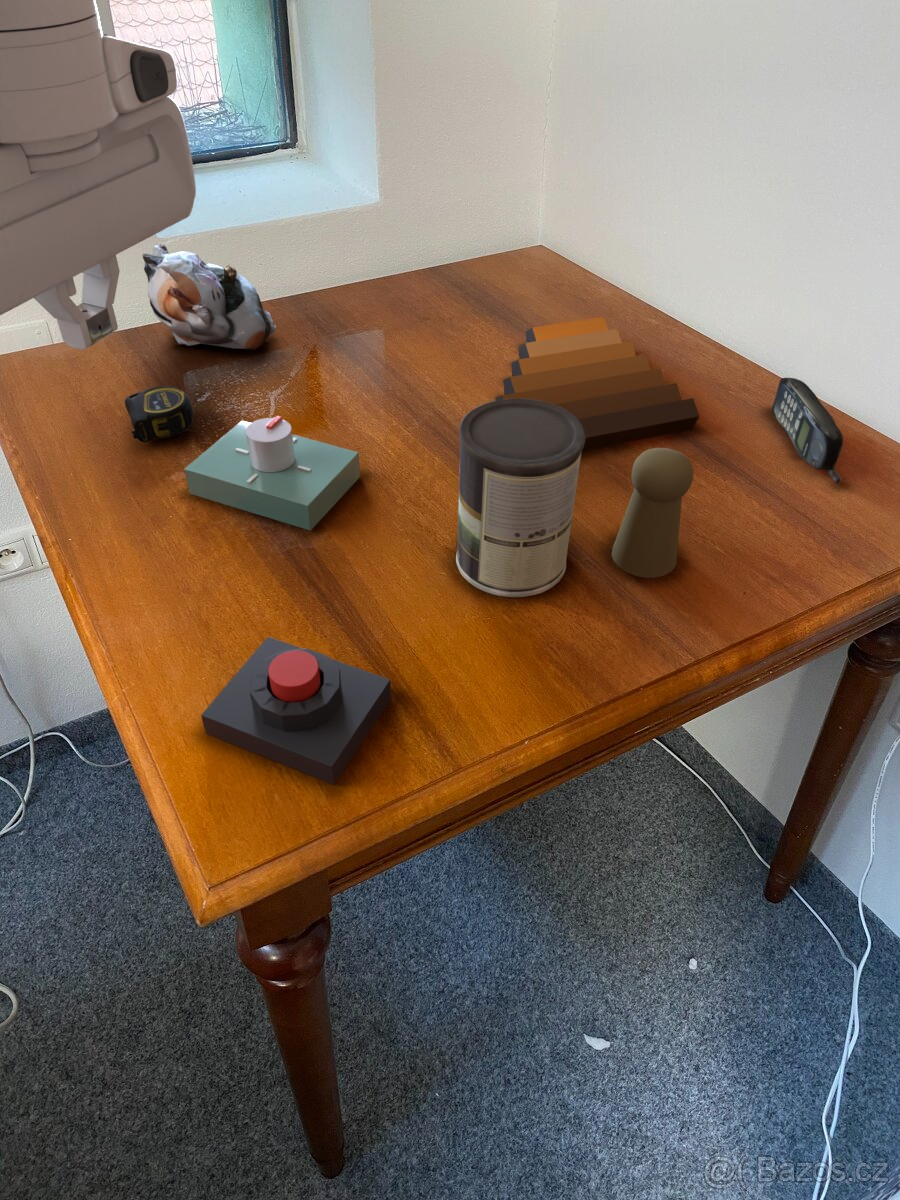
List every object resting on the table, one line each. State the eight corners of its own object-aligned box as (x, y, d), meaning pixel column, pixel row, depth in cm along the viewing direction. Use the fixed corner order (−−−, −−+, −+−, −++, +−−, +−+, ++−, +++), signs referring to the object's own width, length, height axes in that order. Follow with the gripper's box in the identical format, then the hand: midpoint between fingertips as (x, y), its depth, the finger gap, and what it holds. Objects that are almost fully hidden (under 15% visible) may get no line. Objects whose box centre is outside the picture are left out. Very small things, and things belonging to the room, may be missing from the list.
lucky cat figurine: (289, 345, 111) (243, 269, 98) (208, 394, 111) (151, 324, 98) (245, 271, 117) (196, 190, 104) (168, 318, 117) (109, 242, 104)
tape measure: (128, 419, 98) (120, 389, 95) (190, 408, 100) (184, 378, 97) (136, 451, 93) (128, 420, 91) (201, 439, 95) (195, 409, 92)
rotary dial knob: (280, 476, 85) (276, 443, 82) (241, 466, 86) (236, 433, 83) (303, 453, 88) (299, 420, 85) (265, 443, 89) (260, 411, 86)
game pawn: (683, 547, 83) (709, 448, 75) (667, 585, 79) (692, 485, 71) (622, 529, 85) (641, 431, 77) (603, 566, 81) (621, 466, 73)
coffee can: (432, 565, 80) (433, 432, 71) (500, 513, 86) (509, 384, 77) (523, 615, 76) (537, 480, 66) (588, 557, 81) (609, 426, 72)
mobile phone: (776, 373, 98) (833, 443, 87) (802, 373, 99) (862, 442, 87) (765, 413, 102) (818, 485, 90) (790, 412, 102) (846, 484, 91)
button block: (205, 734, 65) (196, 698, 63) (271, 655, 72) (265, 620, 69) (334, 785, 62) (330, 750, 60) (391, 698, 68) (390, 663, 66)
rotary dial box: (189, 493, 88) (183, 467, 86) (245, 444, 94) (241, 418, 92) (310, 531, 84) (307, 504, 81) (360, 476, 90) (358, 450, 88)
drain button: (261, 693, 64) (258, 677, 63) (287, 660, 66) (285, 644, 65) (304, 709, 63) (302, 693, 62) (329, 675, 65) (327, 659, 64)
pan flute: (488, 473, 91) (695, 432, 98) (489, 445, 89) (702, 405, 96) (413, 363, 108) (594, 335, 115) (413, 338, 106) (597, 310, 113)
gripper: (-105, 145, 36) (4, 433, 46) (193, 51, 50) (229, 287, 60) (-211, 125, 38) (-85, 406, 48) (105, 40, 52) (154, 270, 61)
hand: (92, 338), depth 54 cm, fingers closed
